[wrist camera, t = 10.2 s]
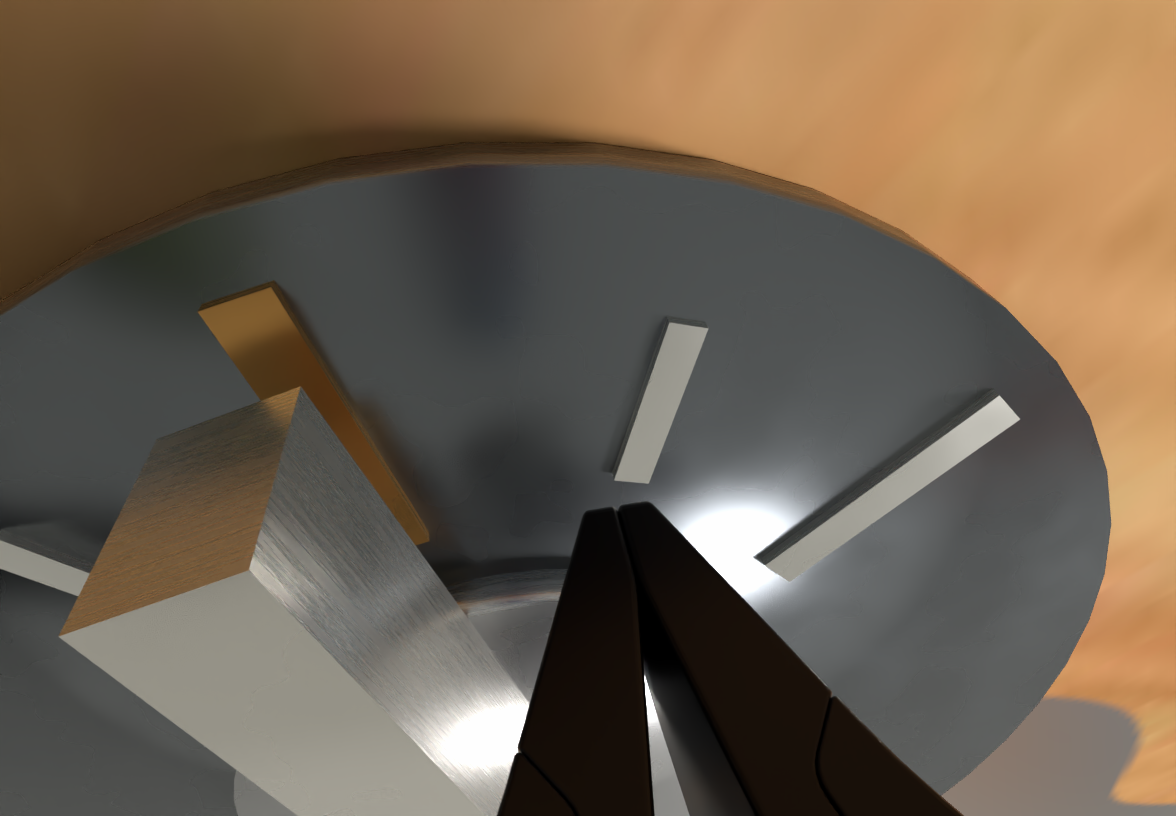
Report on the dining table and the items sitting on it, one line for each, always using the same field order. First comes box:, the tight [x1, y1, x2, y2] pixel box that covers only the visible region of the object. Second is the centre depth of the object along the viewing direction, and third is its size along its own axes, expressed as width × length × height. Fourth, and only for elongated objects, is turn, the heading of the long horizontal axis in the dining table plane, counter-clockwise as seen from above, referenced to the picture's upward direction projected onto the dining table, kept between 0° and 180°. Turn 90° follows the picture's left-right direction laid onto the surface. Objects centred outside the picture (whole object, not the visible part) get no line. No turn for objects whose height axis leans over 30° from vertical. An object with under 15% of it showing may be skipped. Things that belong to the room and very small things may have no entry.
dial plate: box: [0, 142, 1111, 816], centre depth 17 cm, size 26×26×1 cm
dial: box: [58, 386, 690, 816], centre depth 14 cm, size 17×12×4 cm
